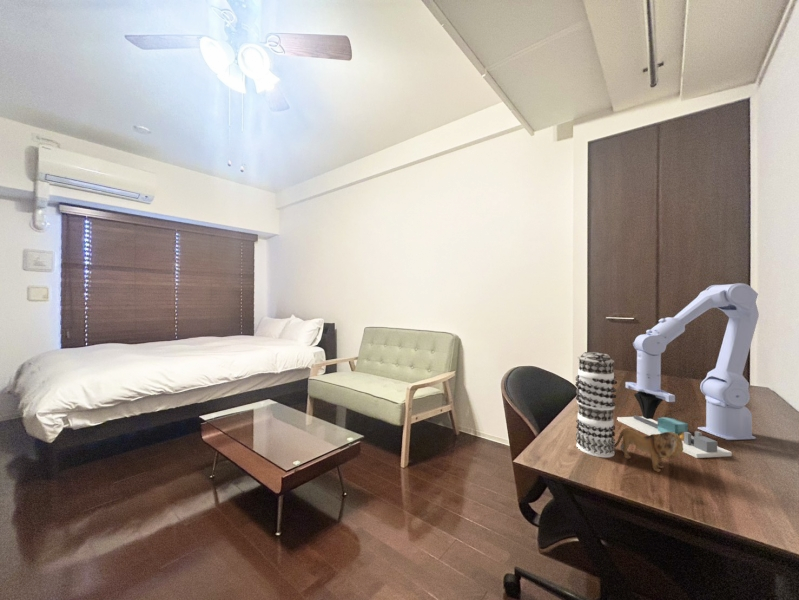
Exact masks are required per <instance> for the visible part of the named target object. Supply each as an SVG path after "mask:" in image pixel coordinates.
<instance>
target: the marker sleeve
mask: <svg viewBox="0 0 799 600" xmlns="http://www.w3.org/2000/svg"><path fill="white" fill-rule="evenodd" d="M657 422H658V431H660V432H663V433H664V432H673V433H676V434H677V435H678V433H682V432H689V423H687V422H684V421H681V420H678V419H676V418H673V417H671V416H668V417H667V416H664V417H662V416H661V417H657Z"/></svg>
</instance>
